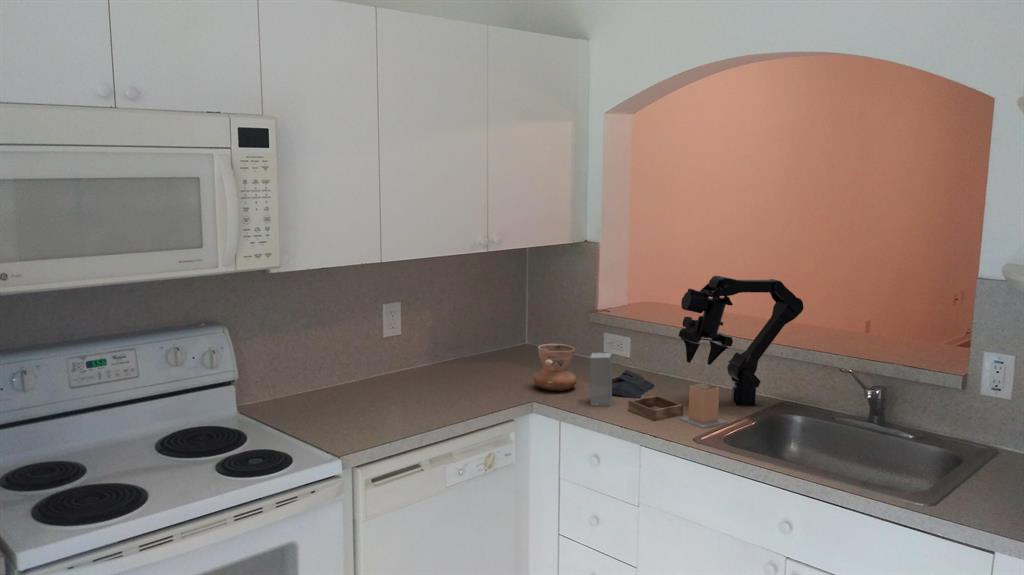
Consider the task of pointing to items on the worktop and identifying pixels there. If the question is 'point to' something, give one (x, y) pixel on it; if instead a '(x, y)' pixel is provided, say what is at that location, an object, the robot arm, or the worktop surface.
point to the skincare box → (601, 379)
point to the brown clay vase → (555, 367)
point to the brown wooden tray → (655, 408)
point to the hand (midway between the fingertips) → (698, 363)
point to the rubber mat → (703, 424)
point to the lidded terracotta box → (703, 403)
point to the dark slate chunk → (630, 385)
